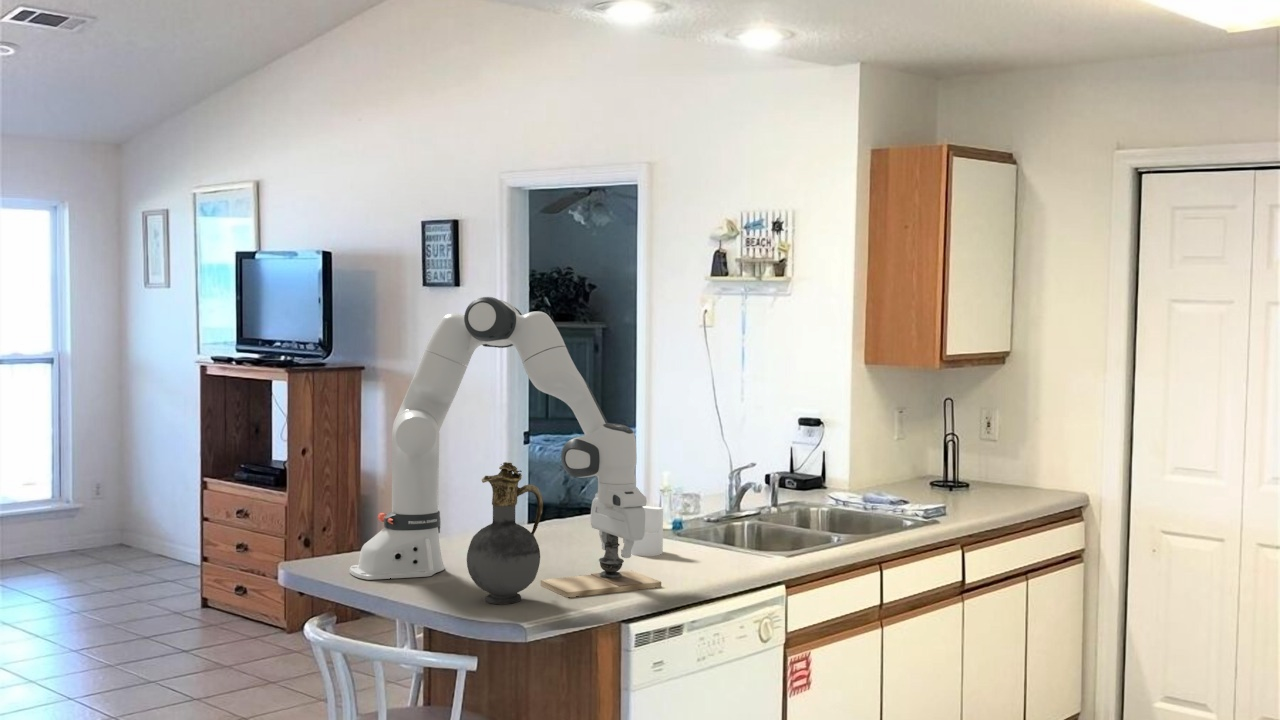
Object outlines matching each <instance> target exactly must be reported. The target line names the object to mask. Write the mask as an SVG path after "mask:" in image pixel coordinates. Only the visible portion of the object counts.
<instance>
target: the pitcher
mask: <svg viewBox="0 0 1280 720" xmlns="http://www.w3.org/2000/svg"><path fill="white" fill-rule="evenodd" d="M499 470H500V471H499V473H498V474H495V475H484V477H483V478H482V479H481V482H482V483H489V485H490V486H491V488H492V496H491V497H492V498H491V499H492V500H491V506H492V523H490V524H488V525H486V526H485V527H483V528H481V529H480V530H479V531H478V532H476V533H475V534H474V535H473V536H472V537H471V540H470V542H469V545H468V550H467V554H466V566H467V570H468V571H467V572H468V573H469V576H470V578H471V580H472V581H473V582H474V583H475V585H476V586H477V587H478V588H479V589H481V590H483V591H484V592H486V593H489V594H487V595H486V596H485V601H486V603H489V604H493V605H508V604H514V603H517V602H520V601H522V595H521V594H520V593H521V592H522V591H524V590H525V589H527V588H528V587H529V586H531V584H532V583H533V582H534V581H535V579H536V577H537V575H538V571H539V568H540V564H541V550H540V547H539V543H538V541H537V538H536V537H535V533H536V532H537V529H538V526H539V524H540V520H541V516H542V515H543V507H544V502H543V501H544V498H543V496H542V494H541V492H540V489H539V487H538V486H536V485H535V484H525V485H523V486H522V487H518V486H519V482H520V481H521V480H522V471H523V470H518V467H517V466H516V465H513V462H507V461H505V462H503V463H500V466H499ZM528 492H530V493H533V494H534V496H535V498H536V502H537V503H536V504H537V508H536V518H535V521H534V524H533V526H532V531H530V530H528V528H526V527H524V526H523V525H520V524H519V523H517V522H516V506H517V504H518V497H520V496H522V495H523V494H525V493H528Z"/></svg>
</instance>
